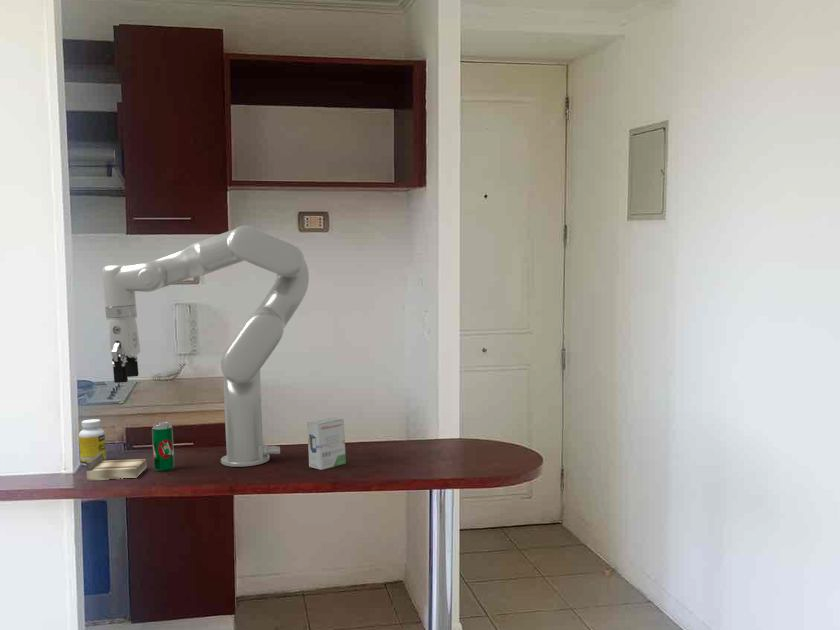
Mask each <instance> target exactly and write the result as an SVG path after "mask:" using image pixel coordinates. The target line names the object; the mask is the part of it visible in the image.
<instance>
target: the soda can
mask: <svg viewBox="0 0 840 630" xmlns="http://www.w3.org/2000/svg"><path fill="white" fill-rule="evenodd" d="M151 437H152V439H151V440H152V454H153V455H152V457H153V458H152V459H153V469H154V470H155V471H156V472H159V471H164V472H169V470H170V471H172V470H174V468H175V452H174V450H175V448H174V432H173V426H172V423H171V422H169V421H166V422H165V421H161V422H156V423H153V426H152V428H151Z"/></svg>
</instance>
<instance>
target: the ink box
mask: <svg viewBox="0 0 840 630" xmlns="http://www.w3.org/2000/svg"><path fill="white" fill-rule="evenodd" d="M344 421H345V420H344V419H343V418H338V417H337V418H335V417H329V418H322V419H318V420H311V421H307V423H306V425H307V427H306V428H307V445H308V446H307V447H308V451H307V452H308V466H309V468H313V469H316V470H319V471H323V470H326V469H330V468H335V467H338V466H342V465H346V464H347V460H346V459H347V458H346V457H347V456H346V442H345V441H346V439H345V437H346V436H345V424H344V423H345V422H344Z"/></svg>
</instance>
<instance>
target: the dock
mask: <svg viewBox="0 0 840 630" xmlns="http://www.w3.org/2000/svg"><path fill="white" fill-rule="evenodd" d="M146 468H147V458H140V459H139V458H137V459H116V460H113V459H112V460H106V461H103V453H98V454H97V455H96V456H94V457H93V458H92V459H90V460H89V461H88V462H87V463H86V480H87V482H89V481H90V482H92V481H93V482H94V481H110V480H109V479H116V480H124V479H123V478H137V477H138V476H139V475H140V474H141V473H142V472H143V471H144V470H145V469H146ZM147 469H148V468H147ZM147 469H146V470H147ZM146 470H145V471H146ZM145 471H144V472H145ZM142 474H143V473H142ZM142 474H141V475H142ZM141 475H140V476H141ZM140 476H139V477H140ZM139 477H138V478H139ZM120 478H121V479H120ZM138 478H137V479H138Z"/></svg>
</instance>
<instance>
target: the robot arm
mask: <svg viewBox="0 0 840 630" xmlns="http://www.w3.org/2000/svg"><path fill="white" fill-rule="evenodd" d="M244 261H245V262H247V263H249V264H251V265H254V266H255V267H259V268H261V269H263V270H267V271H268V272H271V273H273V274H276V278H275V281H274V282H275V283H274V284H273V285H272V287H271V288H270V290H269V291H268V293H267V294H266V296H265V297H264V299H263V301H261V303H260V305H259V306H258V307H257V308H256V310H255V311H254V312H253V313H251V315H250V316H249V318H248V319H247V322H246V323H245V324H244V325H243V327H242V328H241V330H240V332H239V333H238V334H237V335H236V337H235V338H234V339H233V341H232V343H231V344H230V345H229V346H228V347H226V349H225V351H224V352H223V354H222V357H221V359H220V370H221V372H222V375H223V400H224V403H223V404H224V407H223V408H224V422H225V424H224V425H225V442H226V443H225V446H226V455H224V456H222V457H221V458H220V463H221V465H223V466H227V467H231V468H232V467H236V468H237V467H239V468H241V467H253V466H258V465H262V464H264V463H265V464H266V463H267V462H269V461H270V455H280V454H281V447H280V446H277V445H267V444H266V441H263V439H264V437H263V436H264V435H263V419H262V418H263V417H262V415H263V414H262V387H261V368H262V367H263V366H264V364H265V363H266V362H267V360H268V359H269V358H270V356H271V355H272V353H273V352H274V350H275V349H276V347H277V346H278V345H279V343H280V341H281V340H282V338H283V335H284V330H285V328H286V326H287V324H288V323H289V321H291V319H292V317H293V316H294V314H295V312H296V311H297V309H298V308H299V306H300V305H301V303H302V302H303V300H304V298H305V296H306V294H307V291H308V288H309V283H310V282H309V281H310V274H309V269H308V265H307V262H306V260H305V256H304V254H303V251H302V250H301V249H300V248H299V247H298V246H297V245H294V244H292V243H290V242H287V241H285V240H282V239H279V238H278V237H275V236H272V235H270V234H268V233H266V232H264V231H261V230H259V229H257V228H255V227H254V226H251V225H240V226H238V227H236V228H234V229H231V230H228V231H225V232H222V233H220V234H217V235H215V236H214V235H213V236H212V237H209V238H206V239H202V240H199V241H197V242H195V243H192V244H190V245H189V246H186V248H184V249H182V250H180V251H177V252H175V253H171V254H170V255H166V256H163V257H160V258H158V259H154V260H151V261H147V262H141V263H137V264H135V263H134V264H110V265H105V266H103V268H102V271H101V275H102V277H101V278H102V285H103V286H102V288H103V297H104V298H103V299H104V310H105V320H106V321H109V325H108V326H109V328H108V329H109V332H108V333H109V347H110V348H109V349H110V355H111V357H112V358H111V360H112V371H113V380H114V381H113V382H114V383H115V384H116V383H117V384H119V383H127V382H128V380H129V379H128V378H133V377H138V376H139V364H138V355H139V354H140V352H141V349H140V347H141V346H140V340H139V339H140V338H139V331H138V325H137V320H136V319H137V318H138V312H137V311H138V310H137V300H136V292H144V293H150V292H151V293H152V292H155V291H157V290H161V289H163V288H165V287H168V286H170V285H173V284H176V283H180V282H182V281H185V280H188V279H191V278H194V277H201V276H205V275H207V274H211V273H213V272H216V271H219V270H221V269H224V268H227V267H230V266H233V265H236V264H238V263H242V262H244Z"/></svg>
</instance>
